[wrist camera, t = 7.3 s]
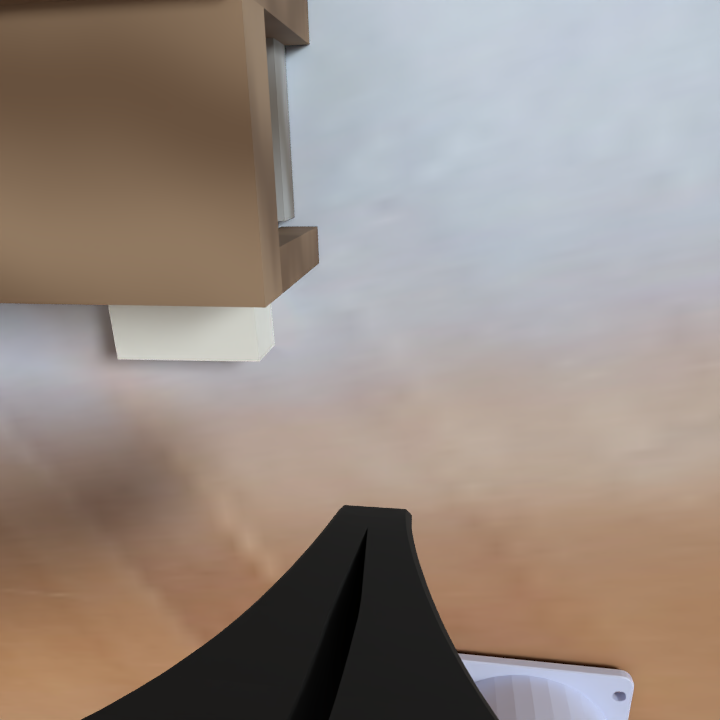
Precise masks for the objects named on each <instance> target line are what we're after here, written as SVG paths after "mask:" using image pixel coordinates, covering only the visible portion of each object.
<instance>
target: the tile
mask: <svg viewBox="0 0 720 720" xmlns="http://www.w3.org/2000/svg"><path fill="white" fill-rule="evenodd" d="M108 309H109V314H110V320H111V325H112V330H113V336H114V341H115V347H116V352H117V358H118V359H122V360H186V361H250V362H259V361H260V360H261V359H262V358H263V357H264V356H265V355H266V354H267V353H268V352H269V351H270V349H271V348H272V347H273V346H274V345H275V343H274V332H273V320H272V309H271V303H270V304H269V305H268V306H267V307H266V308H261V307H202V306H143V305H108Z"/></svg>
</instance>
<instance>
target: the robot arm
mask: <svg viewBox="0 0 720 720" xmlns="http://www.w3.org/2000/svg"><path fill="white" fill-rule="evenodd" d="M633 690H634V683H633V680H632V677H631V676H630V674H629V673H627V672H626V671H623V670H617V669H608V668H598V667H588V666H578V665H568V664H558V663H548V662H538V661H529V660H519V659H509V658H499V657H489V656H479V655H469V654H459V653H458V652H457V651H456V649H455V647H454V645H453V643H452V641H451V639H450V637H449V635H448V633H447V631H446V629H445V627H444V625H443V622H442V620H441V618H440V616H439V613H438V611H437V609H436V607H435V604H434V602H433V600H432V597H431V594H430V592H429V589H428V587H427V584H426V581H425V578H424V575H423V572H422V569H421V566H420V563H419V560H418V556H417V553H416V549H415V544H414V540H413V535H412V515H411V514H410V513H409V512H408V511H407V510H406V509H394V508H379V507H364V506H349V505H344V506H343V507H342V508H341V509H340V510H339V511H338V512H337V513H336V515H335V516H334V517H333V519H332V520H331V521H330V523H329V524H328V525H327V526H326V528H325V529H324V530H323V531H322V533H321V534H320V535H319V536H318V537H317V539H316V540H315V541H314V542H313V543H312V545H311V546H310V547H309V548H308V549H307V550H306V551H305V552H304V553H303V555H302V556H301V557H300V558H299V559H298V560H297V561H296V562H295V563H294V565H293V566H292V567H291V568H290V569H289V570H288V571H287V572H286V573H285V574H284V575H283V576H282V577H281V578H280V579H279V580H278V581H277V582H276V583H275V584H274V585H273V586H272V587H271V588H270V589H269V590H268V591H267V592H266V593H265V594H264V595H263V596H262V597H261V598H260V599H259V600H258V601H257V602H255V603H254V604H253V605H252V606H251V607H250V608H249V609H248V610H247V611H245V612H244V613H243V614H242V615H241V616H240V617H239V618H237V619H236V620H235V621H234V622H233V623H231V624H230V625H229V626H228V627H226V628H225V629H224V630H223V631H222V632H220V633H219V634H218V635H216V636H215V637H214V638H213V639H211V640H210V641H208V642H207V643H206V644H204V645H203V646H202V647H200V648H199V649H197V650H196V651H195V652H193V653H192V654H190V655H189V656H187V657H186V658H185V659H183V660H182V661H180V662H179V663H177V664H176V665H174V666H173V667H172V668H170V669H169V670H167V671H166V672H164V673H162V674H161V675H159V676H158V677H156V678H154V679H153V680H151V681H149V682H148V683H146V684H145V685H143V686H141V687H140V688H138V689H136V690H135V691H133V692H131V693H129V694H128V695H126V696H124V697H122V698H121V699H119V700H117V701H115V702H114V703H112V704H110V705H108V706H106V707H105V708H103V709H101V710H99V711H97V712H95V713H93V714H92V715H89V716H87V717H85V718H83V719H81V720H628V717H629V711H630V706H631V700H632V695H633ZM618 691H621V692H618ZM615 692H618V693H615Z"/></svg>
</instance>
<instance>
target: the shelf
mask: <svg viewBox="0 0 720 720" xmlns="http://www.w3.org/2000/svg"><path fill="white" fill-rule="evenodd" d="M306 44H309V27H308V4H307V0H0V303H26V304H84V305H143V306H202V307H261V308H266V307H267V306H268V305H269V304H270V303H272V302H273V301H274V300H275V299H276V298H278V297H279V296H280V295H281V294H282V293H284V292H285V291H286V290H287V289H288V288H290V287H291V286H292V285H293V284H294V283H296V282H297V281H298V280H299V279H300V278H302V277H303V276H304V275H305V274H306V273H308V272H309V271H310V270H311V269H312V268H314V267H315V266H316V265H317V264H319V253H318V230H317V227H280V228H278V221H287V220H289V219H292V218H294V199H293V182H292V164H291V146H290V129H289V111H288V94H287V76H286V59H285V46H286V45H306Z"/></svg>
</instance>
